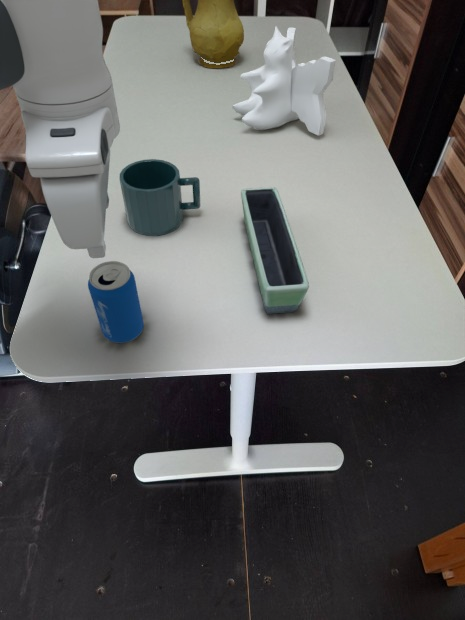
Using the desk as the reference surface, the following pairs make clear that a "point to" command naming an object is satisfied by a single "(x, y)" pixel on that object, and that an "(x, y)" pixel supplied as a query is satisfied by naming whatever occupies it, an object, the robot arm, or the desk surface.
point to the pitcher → (215, 31)
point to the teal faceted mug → (155, 196)
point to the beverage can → (116, 301)
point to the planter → (273, 250)
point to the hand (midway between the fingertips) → (100, 228)
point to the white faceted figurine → (286, 88)
